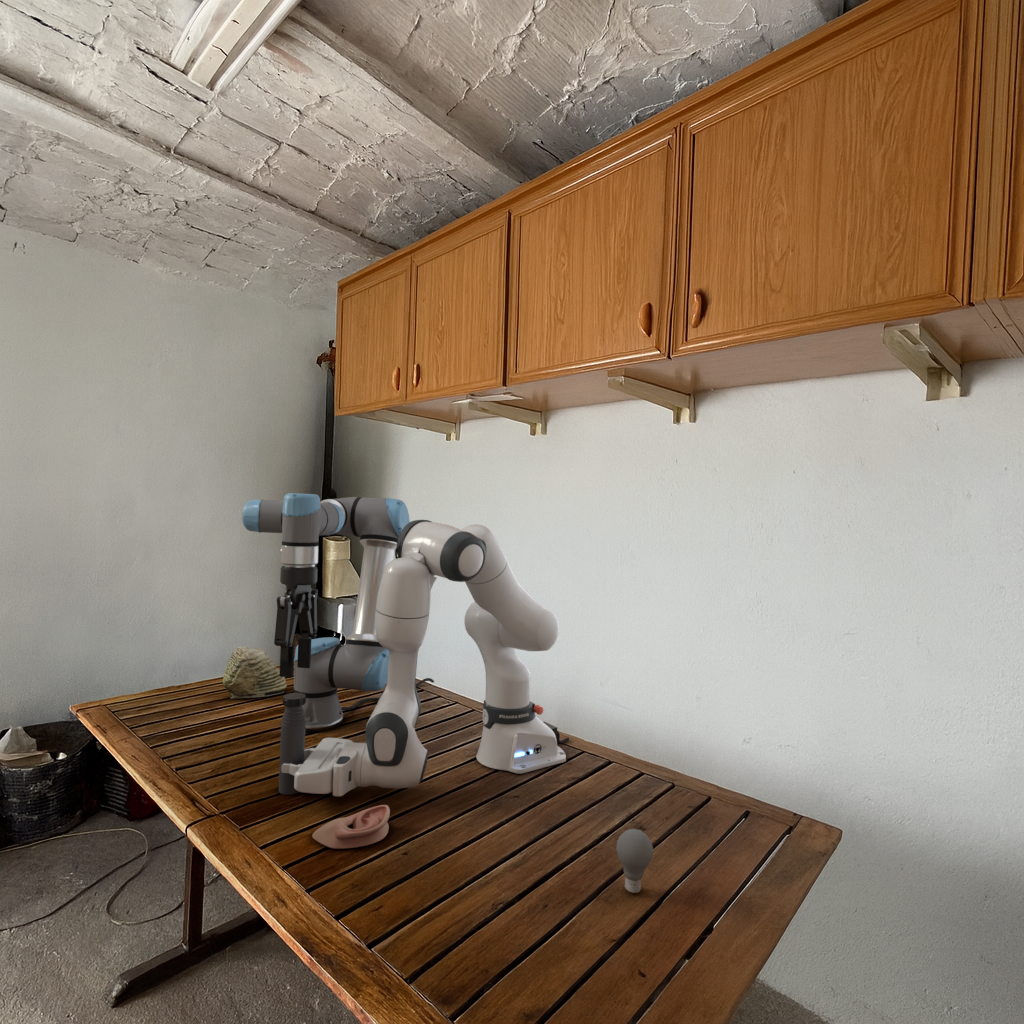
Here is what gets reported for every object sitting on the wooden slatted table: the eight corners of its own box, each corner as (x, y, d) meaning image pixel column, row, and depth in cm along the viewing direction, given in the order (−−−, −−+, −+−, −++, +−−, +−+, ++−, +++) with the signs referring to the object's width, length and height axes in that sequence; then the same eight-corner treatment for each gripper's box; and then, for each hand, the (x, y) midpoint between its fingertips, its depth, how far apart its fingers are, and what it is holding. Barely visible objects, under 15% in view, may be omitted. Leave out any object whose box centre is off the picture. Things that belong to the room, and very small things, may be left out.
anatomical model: (304, 822, 115) (334, 794, 126) (303, 844, 115) (333, 813, 126) (372, 833, 112) (397, 803, 124) (371, 855, 113) (396, 823, 124)
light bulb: (610, 879, 108) (613, 822, 108) (644, 879, 109) (647, 822, 109) (619, 902, 102) (622, 840, 102) (655, 901, 103) (658, 840, 103)
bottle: (300, 794, 134) (303, 701, 134) (275, 794, 134) (279, 701, 133) (305, 784, 139) (308, 694, 139) (281, 784, 139) (285, 694, 138)
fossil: (218, 695, 195) (220, 647, 195) (278, 685, 208) (279, 640, 207) (228, 703, 189) (230, 653, 188) (289, 692, 201) (290, 645, 201)
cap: (302, 707, 134) (303, 699, 134) (280, 707, 134) (280, 699, 134) (307, 700, 139) (307, 692, 139) (285, 700, 138) (286, 692, 138)
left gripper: (305, 560, 146) (301, 659, 146) (257, 568, 126) (253, 683, 127) (335, 562, 145) (331, 662, 145) (292, 571, 125) (288, 686, 126)
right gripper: (364, 732, 147) (304, 729, 147) (339, 769, 126) (270, 766, 126) (362, 759, 147) (303, 756, 147) (338, 800, 126) (269, 797, 126)
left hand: (295, 671), depth 136 cm, fingers open, 7 cm apart
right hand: (287, 761), depth 136 cm, fingers closed on bottle, 5 cm apart
